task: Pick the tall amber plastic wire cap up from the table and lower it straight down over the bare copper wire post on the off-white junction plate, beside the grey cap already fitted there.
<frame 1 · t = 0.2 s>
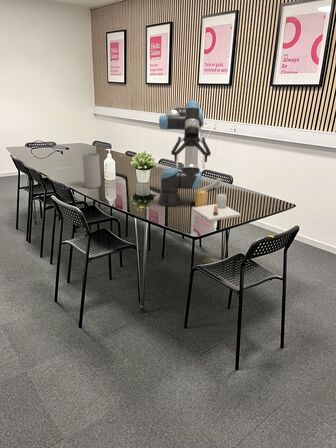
hand: (190, 167, 172), 36 cm above the table, tool tilted 35°, fingers open, 13 cm apart
wrench: (208, 191, 258), on the table
cylinder vase: (93, 186, 266), on the table
junction plate: (215, 212, 213), on the table
wire cap: (200, 205, 226), on the table
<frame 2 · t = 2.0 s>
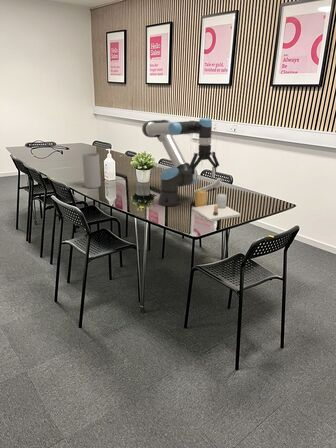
hand: (203, 178, 215), 20 cm above the table, tool pointing down, fingers open, 13 cm apart
nothing on the table moved.
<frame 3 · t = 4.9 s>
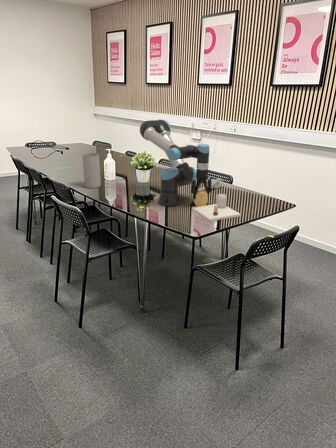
hand: (200, 202, 225), 2 cm above the table, tool pointing down, fingers closed on wire cap, 7 cm apart
wire cap: (200, 205, 226), on the table, touching gripper
everything else where it was.
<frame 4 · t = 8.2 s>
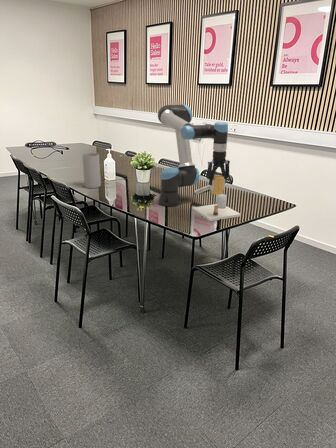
hand: (217, 189, 200), 17 cm above the table, tool pointing down, fingers closed on wire cap, 7 cm apart
wire cap: (216, 192, 201), point 15 cm above the table, touching gripper
everything else where it was.
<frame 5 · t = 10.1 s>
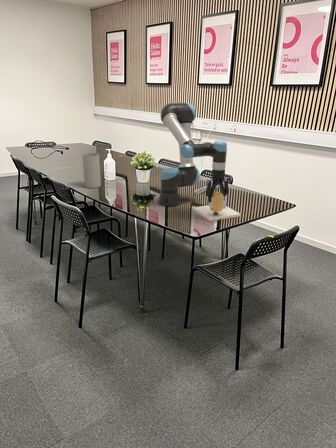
hand: (216, 206, 204), 7 cm above the table, tool pointing down, fingers closed on wire cap, 7 cm apart
wire cap: (216, 209, 204), point 5 cm above the table, touching gripper
everything else where it was.
when the fingers open (6 cm above the table, at t = 11.5 s): wire cap drops 2 cm, resting on junction plate.
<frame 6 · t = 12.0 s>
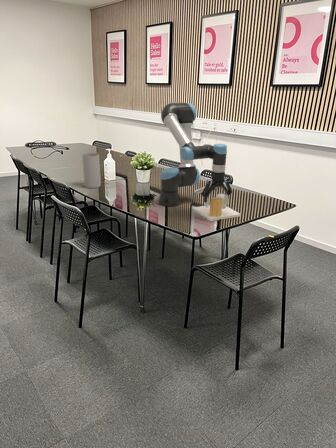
hand: (216, 205, 204), 7 cm above the table, tool pointing down, fingers open, 13 cm apart
wire cap: (215, 214, 206), point 1 cm above the table, touching junction plate
everything else where it was.
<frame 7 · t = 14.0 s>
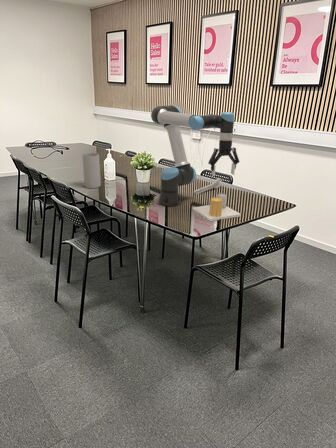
hand: (223, 175, 207), 24 cm above the table, tool pointing down, fingers open, 13 cm apart
nothing on the table moved.
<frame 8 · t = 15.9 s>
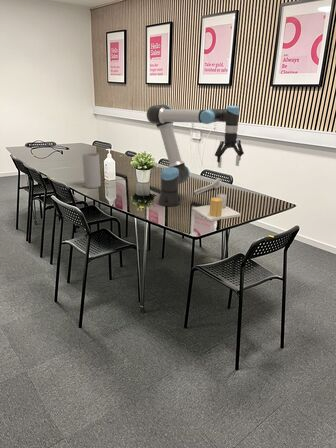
hand: (228, 166, 215), 27 cm above the table, tool pointing down, fingers open, 13 cm apart
nothing on the table moved.
at the end: wire cap 0.0 cm from the target spot on the junction plate, point 1.5 cm above the junction plate's base; wire cap tilted 0°; the gripper is holding nothing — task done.
